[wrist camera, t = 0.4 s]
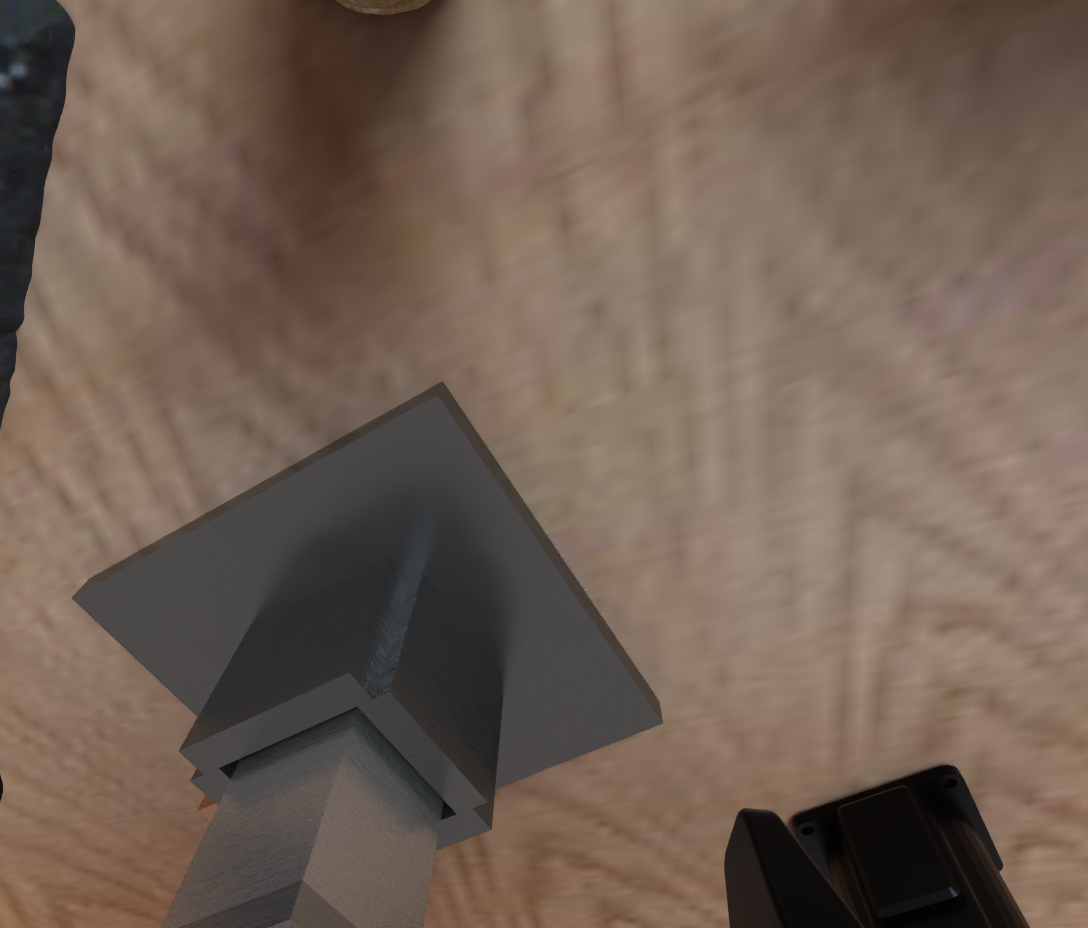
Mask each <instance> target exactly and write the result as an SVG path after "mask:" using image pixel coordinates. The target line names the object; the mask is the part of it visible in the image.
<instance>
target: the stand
mask: <svg viewBox="0 0 1088 928" xmlns="http://www.w3.org/2000/svg"><path fill="white" fill-rule="evenodd" d="M72 599H73V600H74V601H75V602H76V603H77V604H78V605H79V606H81V607H82V608H83V609H84V610H85V611H86V612H87V613H88V614H89V615H90V616H91V617H92V618H93V619H94V620H95V621H96V622H98V623H99V624H100V625H101V626H102V627H103V628H104V629H105V630H106V631H107V632H108V633H109V634H110V635H111V636H112V637H114V638H115V639H116V640H117V641H118V642H119V643H120V644H121V645H122V646H123V647H124V648H125V649H126V650H127V651H128V652H129V653H131V654H132V655H133V656H134V657H135V658H136V659H137V660H138V661H139V662H140V663H141V664H142V665H143V666H144V667H145V668H147V669H148V670H149V671H150V672H151V673H152V674H153V675H154V676H155V677H156V678H157V679H158V680H159V681H160V682H161V683H162V684H164V685H165V686H166V687H167V688H168V689H169V690H170V691H171V692H172V693H173V694H174V695H175V696H176V697H177V698H178V699H179V700H181V701H182V702H183V703H184V704H185V705H186V706H187V707H188V708H189V709H190V710H191V711H192V712H193V713H194V714H195V715H197V716H198V718H197V720H196V721H195V723H194V725H193V727H192V728H191V730H190V732H189V734H188V736H187V737H186V739H185V741H184V743H183V744H182V746H181V748H180V750H179V752H180V753H181V754H182V755H183V756H184V757H185V758H186V759H188V760H189V761H190V762H191V763H192V764H193V765H194V766H195V767H196V768H197V769H196V771H195V773H194V775H193V777H192V779H191V780H190V781H191V782H192V783H193V784H195V785H196V786H197V787H198V788H199V789H200V790H201V791H202V792H204V793H205V794H206V795H205V797H204V799H203V801H202V803H201V805H200V807H199V809H198V812H199V813H200V814H201V815H202V816H204V817H205V818H206V819H207V820H208V821H209V822H211V820H212V818H213V816H214V814H215V812H216V809H217V807H218V805H219V803H220V801H221V799H222V797H223V795H224V792H225V790H226V788H227V786H228V784H229V782H230V780H231V778H232V775H233V773H234V771H235V769H236V767H237V765H238V763H239V761H240V759H241V758H243V757H245V756H247V755H249V754H252V753H254V752H256V751H258V750H260V749H263V748H265V747H267V746H269V745H272V744H274V743H276V742H278V741H281V740H283V739H285V738H287V737H290V736H292V735H294V734H296V733H299V732H301V731H303V730H305V729H308V728H310V727H312V726H314V725H317V724H319V723H321V722H323V721H326V720H328V719H330V718H332V717H335V716H337V715H339V714H341V713H343V712H346V711H348V710H350V709H352V708H355V707H358V708H359V709H360V710H361V711H362V712H363V713H364V714H365V715H366V717H367V718H368V719H369V720H370V721H371V722H372V723H373V724H374V725H375V726H376V727H377V728H378V730H379V731H380V732H381V733H382V734H383V735H384V736H385V737H386V738H387V739H388V740H389V741H390V743H391V744H392V745H393V746H394V747H395V748H396V749H397V750H398V751H399V752H400V753H401V754H402V755H403V757H404V758H405V759H406V760H407V761H408V762H409V763H410V764H411V765H412V766H413V767H414V768H415V770H416V771H417V772H418V773H419V774H420V775H421V776H422V777H423V778H424V779H425V780H426V781H427V782H428V784H429V785H430V786H431V787H432V788H433V789H434V790H435V791H436V792H437V793H438V794H439V795H440V797H441V798H442V799H443V800H444V801H443V807H442V814H441V820H440V826H439V832H438V838H437V845H436V850H438V849H441V848H444V847H446V846H449V845H452V844H454V843H457V842H460V841H462V840H465V839H468V838H470V837H473V836H476V835H478V834H481V833H484V832H486V831H489V830H491V829H492V818H493V807H494V796H495V789H496V788H498V787H501V786H504V785H506V784H509V783H511V782H514V781H516V780H519V779H522V778H524V777H527V776H529V775H532V774H534V773H537V772H539V771H542V770H545V769H547V768H550V767H552V766H555V765H557V764H560V763H563V762H565V761H568V760H570V759H573V758H575V757H578V756H580V755H583V754H586V753H588V752H591V751H593V750H596V749H598V748H601V747H604V746H606V745H609V744H611V743H614V742H616V741H619V740H621V739H624V738H627V737H629V736H632V735H634V734H637V733H639V732H642V731H645V730H647V729H650V728H652V727H655V726H657V725H660V724H663V721H662V715H661V708H660V702H659V700H658V699H657V697H656V696H655V695H654V693H653V692H652V690H651V689H650V687H649V686H648V684H647V683H646V681H645V680H644V678H643V677H642V675H641V674H640V672H639V671H638V669H637V668H636V666H635V665H634V664H633V662H632V661H631V659H630V658H629V656H628V655H627V653H626V652H625V650H624V649H623V647H622V646H621V644H620V643H619V641H618V640H617V638H616V637H615V635H614V634H613V633H612V631H611V630H610V628H609V627H608V625H607V624H606V622H605V621H604V619H603V618H602V616H601V615H600V613H599V612H598V610H597V609H596V607H595V606H594V604H593V603H592V602H591V600H590V599H589V597H588V596H587V594H586V593H585V591H584V590H583V588H582V587H581V585H580V584H579V582H578V581H577V579H576V578H575V576H574V575H573V573H572V572H571V571H570V569H569V568H568V566H567V565H566V563H565V562H564V560H563V559H562V557H561V556H560V554H559V553H558V551H557V550H556V548H555V547H554V545H553V544H552V542H551V541H550V540H549V538H548V537H547V535H546V534H545V532H544V531H543V529H542V528H541V526H540V525H539V523H538V522H537V520H536V519H535V517H534V516H533V514H532V513H531V511H530V510H529V509H528V507H527V506H526V504H525V503H524V501H523V500H522V498H521V497H520V495H519V494H518V492H517V491H516V489H515V488H514V486H513V485H512V483H511V482H510V480H509V479H508V478H507V476H506V475H505V473H504V472H503V470H502V469H501V467H500V466H499V464H498V463H497V461H496V460H495V458H494V457H493V455H492V454H491V452H490V451H489V449H488V448H487V447H486V445H485V444H484V442H483V441H482V439H481V438H480V436H479V435H478V433H477V432H476V430H475V429H474V427H473V426H472V424H471V423H470V421H469V420H468V418H467V417H466V416H465V414H464V413H463V411H462V410H461V408H460V407H459V405H458V404H457V402H456V401H455V399H454V398H453V396H452V395H451V393H450V392H449V390H448V389H447V387H446V386H445V385H444V383H443V382H441V383H439V384H437V385H435V386H434V387H432V388H430V389H428V390H427V391H425V392H423V393H421V394H419V395H418V396H416V397H414V398H412V399H410V400H409V401H407V402H405V403H403V404H401V405H400V406H398V407H396V408H394V409H393V410H391V411H389V412H387V413H385V414H384V415H382V416H380V417H378V418H376V419H375V420H373V421H371V422H369V423H367V424H366V425H364V426H362V427H360V428H359V429H357V430H355V431H353V432H351V433H350V434H348V435H346V436H344V437H342V438H341V439H339V440H337V441H335V442H333V443H332V444H330V445H328V446H326V447H325V448H323V449H321V450H319V451H317V452H316V453H314V454H312V455H310V456H308V457H307V458H305V459H303V460H301V461H299V462H298V463H296V464H294V465H292V466H291V467H289V468H287V469H285V470H283V471H282V472H280V473H278V474H276V475H274V476H273V477H271V478H269V479H267V480H265V481H264V482H262V483H260V484H258V485H257V486H255V487H253V488H251V489H249V490H248V491H246V492H244V493H242V494H240V495H239V496H237V497H235V498H233V499H231V500H230V501H228V502H226V503H224V504H223V505H221V506H219V507H217V508H215V509H214V510H212V511H210V512H208V513H206V514H205V515H203V516H201V517H199V518H197V519H196V520H194V521H192V522H190V523H189V524H187V525H185V526H183V527H181V528H180V529H178V530H176V531H174V532H172V533H171V534H169V535H167V536H165V537H163V538H162V539H160V540H158V541H156V542H155V543H153V544H151V545H149V546H147V547H146V548H144V549H142V550H140V551H138V552H137V553H135V554H133V555H131V556H129V557H128V558H126V559H124V560H122V561H121V562H119V563H117V564H115V565H113V566H112V567H110V568H108V569H106V570H104V571H103V572H101V573H99V574H97V575H95V576H94V577H92V578H90V579H89V580H88V581H87V582H86V583H85V584H84V585H83V586H82V587H81V588H80V589H79V590H78V591H77V592H76V593H75V594H74V595H73V597H72Z"/></svg>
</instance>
